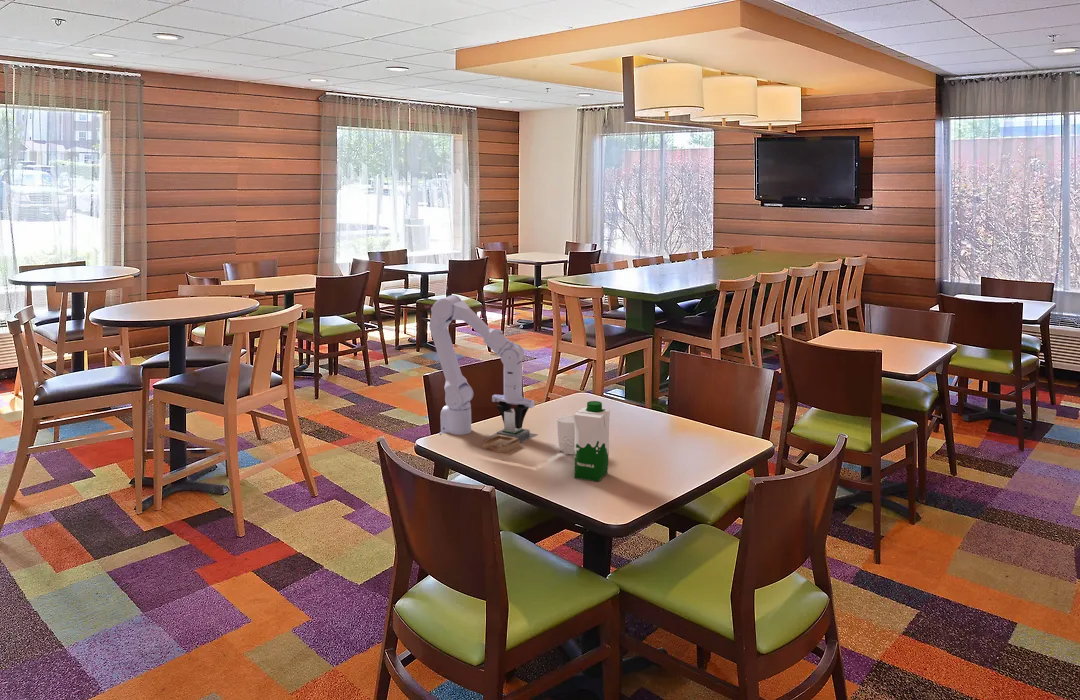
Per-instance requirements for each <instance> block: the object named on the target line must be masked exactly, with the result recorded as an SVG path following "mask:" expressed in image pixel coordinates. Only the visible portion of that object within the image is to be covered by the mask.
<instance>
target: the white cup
mask: <svg viewBox="0 0 1080 700" xmlns="http://www.w3.org/2000/svg"><path fill="white" fill-rule="evenodd" d="M556 422H557V423H556V427H557V443H558V449H559V450H560V451H559V453H560V454H563V455H568V454H573V455H575V423H574V414H573V415H572V414H568V415H560V416H559V417H557V418H556Z"/></svg>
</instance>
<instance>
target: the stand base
mask: <svg viewBox="0 0 1080 700" xmlns="http://www.w3.org/2000/svg"><path fill="white" fill-rule="evenodd" d="M522 429H523V431H522V432H520V433H518V434H516V435H515V434H510V433H504V428H502V429H501V430H498V431H496V433H493V434H491V435H489V436H488V438H491V437H493V436H495V435H497V434H500V435H505V436H510V437H515V438H519V441H520V444H521V443H524V442H526V441H529V440H530V439H532V438H534V437H536V436H538V433H537V434H536V433H532V432H531V431H530V429H526V428H522Z"/></svg>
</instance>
